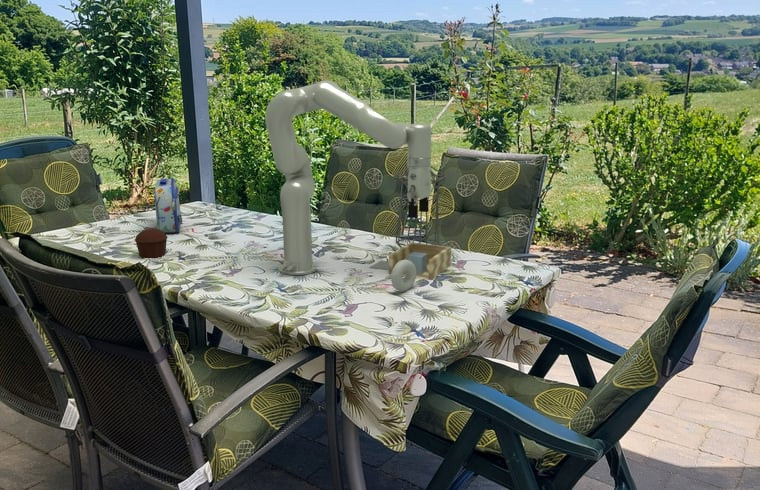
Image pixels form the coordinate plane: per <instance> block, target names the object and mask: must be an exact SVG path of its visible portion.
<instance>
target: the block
mask: <svg viewBox="0 0 760 490" xmlns="http://www.w3.org/2000/svg"><path fill="white" fill-rule="evenodd" d="M408 260H409V261H411V262H412V263H413V264H414V265H415V268H416V274H420V275H422V274H423V273H424V272H426V271H427V254H426V253H418V252H413V253H411V254H409V255H408Z"/></svg>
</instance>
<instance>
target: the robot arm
mask: <svg viewBox="0 0 760 490" xmlns="http://www.w3.org/2000/svg"><path fill="white" fill-rule="evenodd" d="M266 107H267V108H266V110H265V115H264V116H265V126H266V130H267V134H268V138H269V143H270V147H271V151H272V155H273V160H274V164H275V167H276V170H278V172H280V174H282V175H284V177H285V182H284V184H283V185H282V186H281V188H280V189H281V190H280V193H279V197H280V199H279V200H280V206H281V208H280V209H281V215H282V216H281V217H282V220H281V221H282V239H283V240H282V242H283V261H282V262H283V263H282V264H281V265H278V267H277V271H279V272H280V273H282V274H285V275H289V276H302V275H303V276H305V275H309V274H312V273H313V274H314V273H315V272H316V271H317V270H318V265H317V264H316V263H313V241H312V240H313V239H312V238H313V237H312V212H311V198H312V197H313V196H314V194H315V192H316V191H315V190H316V189H315V188H316V185H315V180H314V175H313V171H312V167H311V162H310V159H309V155H308V153H307V151H306V149H305V148H304V147H303V146H302V145H301V144H299V143H298V141H297V137H296V131H295V129H294V128H295V127H294V126H293V122H292V121H293V117H297V116H298V115H304V114H307V113H310V112H315V111H318V110H324V111H326V112H328V113H330V115H333V116H335V118H336V117H337V118H339V119H340V120H341V121H343V122H345V123H347V124H348V125H350V126H352V127H353V128H354V129H356V130H358V131H360V132H361V133H363V134H365V135H366V136H368V137H369V138H371V139H372V140H374V141H376V142H378V143H379V144H381V145H383V146H385V147H386V148H389V149H394V150H396V149H400V148H401V147H403V146H404V145H405V146H407V159H406V160H407V161H406V162H407V167H406V168H409V169H408V170H409V172H408V183H407V185H408V188H407V193H406V195H407V196H406V198H408V199H406V201H407V217H408V218H410V217H411V219H412V218H413V219H415V218H417V219H418V218H419V217H418V216H419V212H420V213H421V212H422V213H426V212H427V213H429V212H430V211H429V208H430V207H429V205H430V204H429V200H430V196H429V195H432V192H431V190H432V184H431V179H432V177H431V172H430V169H431V166H432V163H431V162H432V160H431V159H432V158H431V157H432V127H431V125H430V124H428V123H402V122H393V121H391V120H389V119H387V118H385V117H384V116H382V115H381V114H380V113H377V111H375V110H374V109H372V108H371V107H370V106H369V104H368V103H366V102H365V101H364V100H362V98H358V97H357V96H355V95H353V94H352V93H349V91H346V90H345V89H343V88H341V87H340V86H339V85H338V83H336V82H335V81H333V80H329V79H328V80H321V81H319V82H317V83H314V84H310V85H309V84H308V85H306V86H301V87H296V88H290V89H286V90H282V91H280V92H279V93H277V94H276V95H275V96H274V97H272V99H271V100H270V101H269V103H268V105H267V106H266ZM414 199H415V200H414ZM420 199H421V200H420ZM418 200H419V201H418ZM417 202H418V206H417Z"/></svg>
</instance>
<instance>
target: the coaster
mask: <svg viewBox="0 0 760 490" xmlns="http://www.w3.org/2000/svg"><path fill="white" fill-rule="evenodd" d="M369 268H370V269H376V270H382V271H383V270H384V271H389V261H385V260H379V261H378V262H377V263H375V264H373V265H372V266H370V267H369Z"/></svg>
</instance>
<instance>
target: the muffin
mask: <svg viewBox="0 0 760 490" xmlns="http://www.w3.org/2000/svg"><path fill="white" fill-rule="evenodd" d="M168 238H169V237H168V236H167V233H164V232H163V231H162V230H160V229H157V227H149V228H145V229H142V230H141V231H140V232H138V233H137V235H136V237H135V238H134V241H135V244H136V247H137V251H138V255H139V257H140V258H141V259H143V258H157V259H159V258H158V257H160V258H163V257H164V256H166V251H167V240H168ZM162 256H163V257H162Z"/></svg>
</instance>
